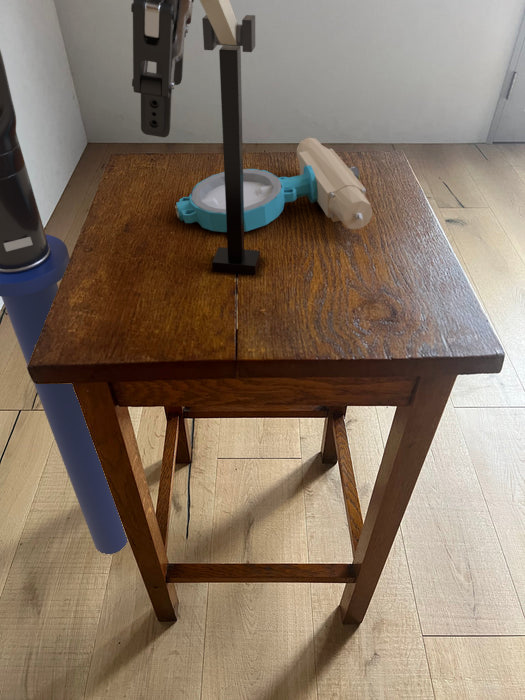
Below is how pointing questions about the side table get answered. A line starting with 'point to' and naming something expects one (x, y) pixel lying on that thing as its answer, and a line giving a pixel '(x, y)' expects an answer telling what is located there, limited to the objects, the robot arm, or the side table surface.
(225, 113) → the lever post
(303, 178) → the butterfly valve
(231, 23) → the lever
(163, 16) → the robot arm
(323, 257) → the side table surface
